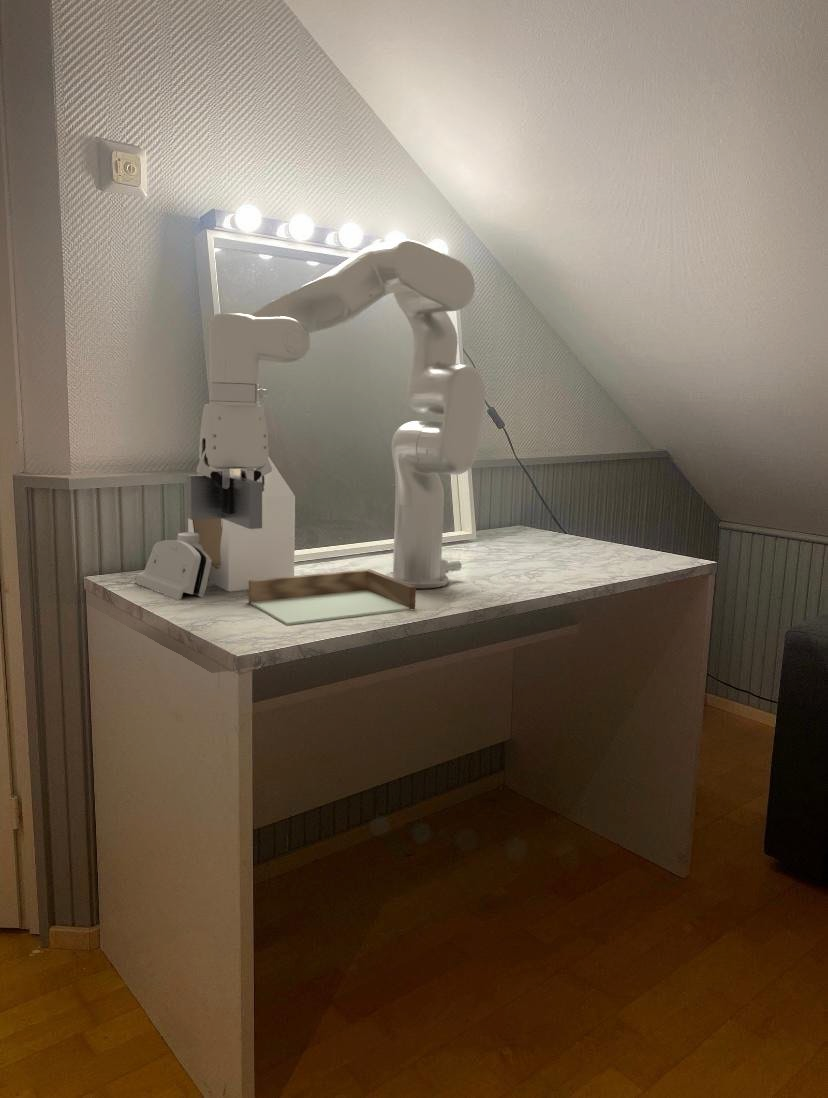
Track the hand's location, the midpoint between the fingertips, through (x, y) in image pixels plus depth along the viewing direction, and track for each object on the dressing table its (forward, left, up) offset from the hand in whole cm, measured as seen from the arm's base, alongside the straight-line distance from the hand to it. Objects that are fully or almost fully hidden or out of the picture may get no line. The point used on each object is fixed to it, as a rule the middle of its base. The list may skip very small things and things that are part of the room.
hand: (235, 511), depth 134 cm
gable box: (-11, -26, -17) cm, 33 cm away
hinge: (+3, -22, -17) cm, 28 cm away
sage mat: (-16, +2, -17) cm, 24 cm away
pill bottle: (-2, -29, -17) cm, 34 cm away
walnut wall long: (-17, -6, -17) cm, 25 cm away
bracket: (+3, +2, -1) cm, 3 cm away
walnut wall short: (-28, +2, -17) cm, 33 cm away
